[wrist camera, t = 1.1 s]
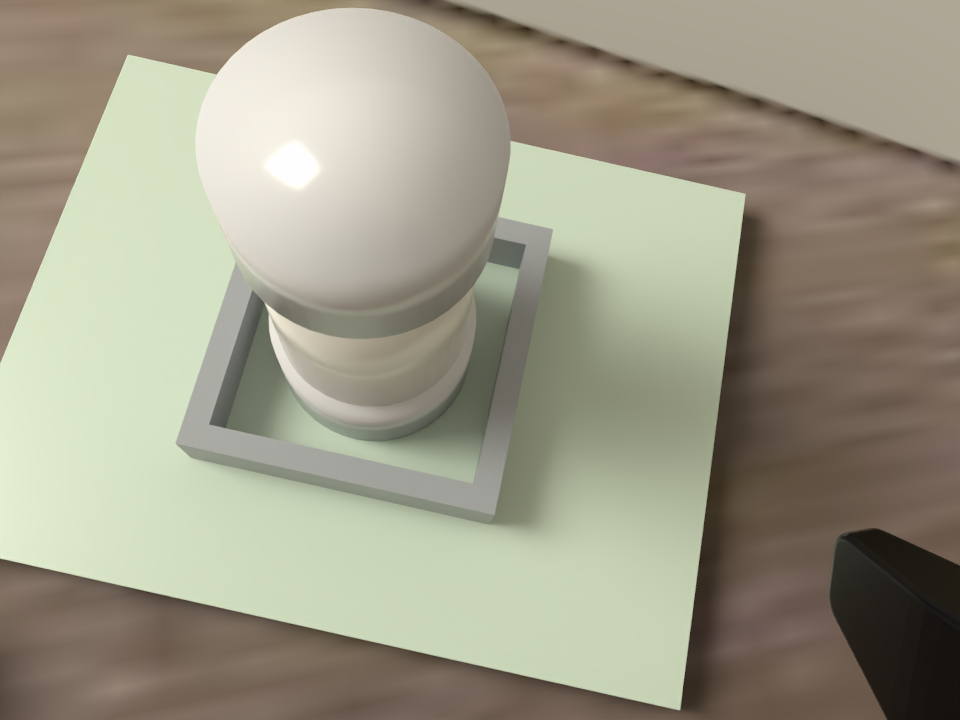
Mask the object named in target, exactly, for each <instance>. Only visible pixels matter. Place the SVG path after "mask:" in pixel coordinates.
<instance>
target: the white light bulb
mask: <svg viewBox="0 0 960 720" xmlns="http://www.w3.org/2000/svg"><path fill="white" fill-rule="evenodd" d="M195 143H196V159H197V165H198V171H199V175H200V178H201V181H202V184H203V187H204V189H205V192H206V194H207V197H208V199H209V201H210V204H211V206H212V208H213V211H214V213H215V215H216V218H217V220H218V222H219V225H220V227H221V229H222V232H223V234H224V236H225V238H226V241H227V243H228V245H229V248H230V250H231V252H232V255H233V257H234V259H235V262H236V264H237V266H238V267H239V269H240V271H241V273H242V275H243V277H244V278H245V280H246V281H247V283H248V284H249V285H250V287H251V288H252V290H253V291H254V292H255V293H256V294H257V295H258V296H259V297H260V298H261V299H262V300H263V301H264V302H265V305H266V307H267V310H268V312H269V332H270V337H271V342H272V345H273V348H274V351H275V354H276V356H277V359H278V361H279V363H280V366H281V368H282V370H283V373H284V375H285V377H286V380H287V382H288V384H289V387H290V389H291V390H292V392H293V394H294V396H295V398H296V399H297V401H298V402H299V404H300V405H301V407H302V408H303V409H304V410H305V411H306V412H307V413H308V414H309V415H310V416H311V417H312V418H313V419H314V420H316V421H317V422H318V423H319V424H321V425H323V426H324V427H326V428H328V429H329V430H331V431H333V432H336V433H338V434H340V435H343V436H346V437H349V438H353V439H358V440H365V441H385V440H393V439H397V438H402V437H405V436H408V435H410V434H413V433H416V432H418V431H420V430H422V429H423V428H425V427H427V426H428V425H430V424H431V423H433V422H434V421H436V420H437V419H438V418H439V417H440V416H441V415H442V414H443V413H445V412H446V410H447V409H448V408H449V407H450V406H451V404H452V403H453V402H454V400H455V399H456V397H457V396H458V394H459V392H460V390H461V388H462V386H463V384H464V381H465V378H466V374H467V371H468V366H469V361H470V356H471V351H472V346H473V342H474V336H475V330H476V306H475V300H474V296H473V292H474V286H475V282H476V281H477V279H478V278H479V276H480V275H481V273H482V271H483V269H484V267H485V265H486V263H487V261H488V259H489V256H490V252H491V249H492V246H493V242H494V237H495V232H496V228H497V223H498V218H499V213H500V208H501V203H502V198H503V193H504V188H505V183H506V178H507V173H508V167H509V160H510V154H511V135H510V129H509V122H508V117H507V114H506V110H505V107H504V104H503V101H502V99H501V97H500V94H499V92H498V90H497V88H496V86H495V84H494V83H493V81H492V80H491V78H490V76H489V75H488V73H487V72H486V70H485V69H484V68H483V67H482V66H481V65H480V63H479V62H478V61H477V60H476V59H475V57H474V56H472V55H471V54H470V53H469V52H468V51H467V50H466V49H465V48H464V47H463V46H461V45H460V44H459V43H458V42H456V41H455V40H453V39H452V38H451V37H449V36H448V35H446V34H445V33H443V32H441V31H439V30H437V29H436V28H434V27H432V26H430V25H428V24H426V23H423V22H421V21H418V20H416V19H413V18H411V17H407V16H404V15H400V14H397V13H393V12H388V11H382V10H376V9H364V8H340V9H330V10H323V11H317V12H312V13H309V14H305V15H301V16H297V17H295V18H292V19H289V20H287V21H284V22H282V23H279V24H277V25H275V26H273V27H272V28H270V29H268V30H266V31H264V32H262V33H261V34H259V35H258V36H256V37H255V38H253V39H252V40H251V41H249V42H248V43H246V44H245V45H244V46H243V47H242V48H241V49H240V50H238V51H237V52H236V53H235V54H234V55H233V56H232V57H231V58H230V59H229V60H228V62H227V63H226V64H225V65H224V66H223V67H222V69H221V70H220V71H219V73H218V74H217V76H216V77H215V79H214V81H213V82H212V84H211V85H210V87H209V90H208V92H207V94H206V96H205V98H204V100H203V103H202V106H201V110H200V113H199V117H198V121H197V129H196V136H195Z"/></svg>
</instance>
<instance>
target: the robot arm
mask: <svg viewBox="0 0 960 720" xmlns="http://www.w3.org/2000/svg"><path fill="white" fill-rule="evenodd" d="M829 601H830V606H831V609H832V612H833V615H834V617H835V619H836V621H837V623H838V625H839V627H840V629H841V631H842V633H843V635H844V636H845V638H846V640H847V642H848V644H849V646H850V648H851V650H852V652H853V654H854V656H855V658H856V660H857V662H858V664H859V666H860V668H861V670H862V672H863V674H864V675H865V677H866V679H867V681H868V683H869V685H870V687H871V689H872V691H873V693H874V695H875V697H876V699H877V701H878V703H879V705H880V707H881V709H882V711H883V713H884V715H885V716H886V718H887V720H960V565H958V564H955V563H953V562H951V561H949V560H947V559H944V558H942V557H940V556H938V555H936V554H933V553H931V552H929V551H927V550H925V549H923V548H920V547H918V546H916V545H914V544H912V543H909V542H907V541H905V540H903V539H901V538H898V537H896V536H894V535H892V534H890V533H887V532H885V531H883V530H880V529H876V528H869V529H864V530H858V531H853V532H847V533H844V534H842V535H840V536H839V537H838V539H837V541H836V543H835V548H834V556H833V563H832V571H831V579H830V587H829Z"/></svg>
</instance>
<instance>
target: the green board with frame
mask: <svg viewBox="0 0 960 720" xmlns="http://www.w3.org/2000/svg"><path fill="white" fill-rule="evenodd" d="M216 76H217V75H216V74H211V73H207V72H203V71H198V70H194V69H189V68H185V67H180V66H176V65H172V64H167V63H163V62H158V61H154V60H149V59H145V58H141V57H136V56H132V55H128V56H127V58H126V60H125V63H124V65H123V68H122V70H121V73H120V75H119V77H118V80H117V82H116V85H115V87H114V89H113V92H112V94H111V97H110V99H109V102H108V104H107V106H106V109H105V111H104V114H103V116H102V119H101V121H100V123H99V126H98V128H97V131H96V133H95V136H94V138H93V140H92V143H91V145H90V148H89V150H88V152H87V155H86V157H85V160H84V162H83V165H82V167H81V169H80V172H79V174H78V177H77V179H76V182H75V184H74V186H73V189H72V191H71V194H70V196H69V199H68V201H67V203H66V206H65V208H64V211H63V213H62V216H61V218H60V220H59V223H58V225H57V228H56V230H55V232H54V235H53V237H52V240H51V242H50V245H49V247H48V249H47V252H46V254H45V257H44V259H43V262H42V264H41V266H40V269H39V271H38V274H37V276H36V279H35V281H34V283H33V286H32V288H31V291H30V293H29V295H28V298H27V300H26V303H25V305H24V308H23V310H22V312H21V315H20V317H19V320H18V322H17V325H16V327H15V329H14V332H13V334H12V337H11V339H10V342H9V344H8V346H7V349H6V351H5V354H4V356H3V358H2V361H1V363H0V559H3V560H8V561H12V562H16V563H21V564H25V565H30V566H34V567H39V568H43V569H48V570H52V571H57V572H61V573H66V574H70V575H75V576H79V577H84V578H88V579H93V580H97V581H101V582H106V583H110V584H115V585H119V586H124V587H128V588H133V589H137V590H142V591H146V592H151V593H155V594H160V595H164V596H169V597H173V598H177V599H182V600H186V601H191V602H195V603H200V604H204V605H209V606H213V607H218V608H222V609H227V610H231V611H236V612H240V613H245V614H249V615H254V616H258V617H262V618H267V619H271V620H276V621H280V622H285V623H289V624H294V625H298V626H303V627H307V628H312V629H316V630H321V631H325V632H330V633H334V634H338V635H343V636H347V637H352V638H356V639H361V640H365V641H370V642H374V643H379V644H383V645H388V646H392V647H397V648H401V649H406V650H410V651H415V652H419V653H423V654H428V655H432V656H437V657H441V658H446V659H450V660H455V661H459V662H464V663H468V664H473V665H477V666H482V667H486V668H491V669H495V670H499V671H504V672H508V673H513V674H517V675H522V676H526V677H531V678H535V679H540V680H544V681H549V682H553V683H558V684H562V685H567V686H571V687H576V688H580V689H584V690H589V691H593V692H598V693H602V694H607V695H611V696H616V697H620V698H625V699H629V700H634V701H638V702H643V703H647V704H652V705H656V706H660V707H665V708H670V709H675V710H680V707H681V699H682V691H683V683H684V675H685V667H686V659H687V652H688V644H689V636H690V628H691V620H692V612H693V604H694V596H695V589H696V581H697V573H698V565H699V557H700V549H701V541H702V533H703V525H704V518H705V510H706V502H707V494H708V486H709V478H710V470H711V462H712V455H713V447H714V439H715V431H716V423H717V415H718V407H719V399H720V391H721V384H722V376H723V368H724V360H725V352H726V344H727V336H728V328H729V321H730V313H731V305H732V297H733V289H734V281H735V273H736V265H737V257H738V250H739V242H740V234H741V226H742V218H743V210H744V202H745V194H743V193H739V192H734V191H730V190H725V189H721V188H717V187H712V186H708V185H703V184H699V183H694V182H690V181H686V180H681V179H677V178H672V177H668V176H663V175H659V174H654V173H650V172H646V171H641V170H637V169H632V168H628V167H623V166H619V165H615V164H610V163H606V162H601V161H597V160H592V159H588V158H584V157H579V156H575V155H570V154H566V153H561V152H557V151H553V150H548V149H544V148H539V147H535V146H530V145H526V144H522V143H517V142H513V141H511V154H510V160H509V167H508V173H507V178H506V183H505V188H504V193H503V198H502V203H501V208H500V213H499V218H498V223H497V228H496V232H495V237H494V242H493V246H492V249H491V252H490V256H489V259H488V261H487V263H486V265H485V267H484V269H483V271H482V273H481V275H480V276H479V278H478V279H477V281H476V282H475V286H474V292H473V296H474V300H475V306H476V330H475V336H474V342H473V346H472V351H471V356H470V361H469V366H468V371H467V374H466V378H465V381H464V384H463V386H462V388H461V390H460V392H459V394H458V396H457V397H456V399H455V400H454V402H453V403H452V404H451V406H450V407H449V408H448V409H447V410H446V412H445V413H443V414H442V415H441V416H440V417H439V418H438V419H437V420H436V421H434V422H433V423H431V424H430V425H428V426H427V427H425V428H423V429H422V430H420V431H418V432H416V433H413V434H410V435H408V436H405V437H402V438H397V439H393V440H385V441H365V440H358V439H353V438H349V437H346V436H343V435H340V434H338V433H336V432H333V431H331V430H329V429H328V428H326V427H324V426H323V425H321V424H319V423H318V422H317V421H316V420H314V419H313V418H312V417H311V416H310V415H309V414H308V413H307V412H306V411H305V410H304V409H303V408H302V407H301V405H300V404H299V402H298V401H297V399H296V398H295V396H294V394H293V392H292V390H291V389H290V387H289V384H288V382H287V380H286V377H285V375H284V373H283V370H282V368H281V366H280V363H279V361H278V359H277V356H276V354H275V351H274V348H273V345H272V342H271V337H270V332H269V312H268V310H267V307H266V305H265V302H264V301H263V300H262V299H261V298H260V297H259V296H258V295H257V294H256V293H255V292H254V291H253V290H252V288H251V287H250V285H249V284H248V283H247V281H246V280H245V278H244V277H243V275H242V273H241V271H240V269H239V267H238V266H237V264H236V262H235V259H234V257H233V255H232V252H231V250H230V248H229V245H228V243H227V241H226V238H225V236H224V234H223V232H222V229H221V227H220V225H219V222H218V220H217V218H216V215H215V213H214V211H213V208H212V206H211V204H210V201H209V199H208V197H207V194H206V192H205V189H204V187H203V184H202V181H201V178H200V175H199V171H198V165H197V159H196V143H195V136H196V129H197V121H198V117H199V113H200V110H201V106H202V103H203V100H204V98H205V96H206V94H207V92H208V90H209V87H210V85H211V84H212V82H213V81H214V79H215V77H216Z"/></svg>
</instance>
